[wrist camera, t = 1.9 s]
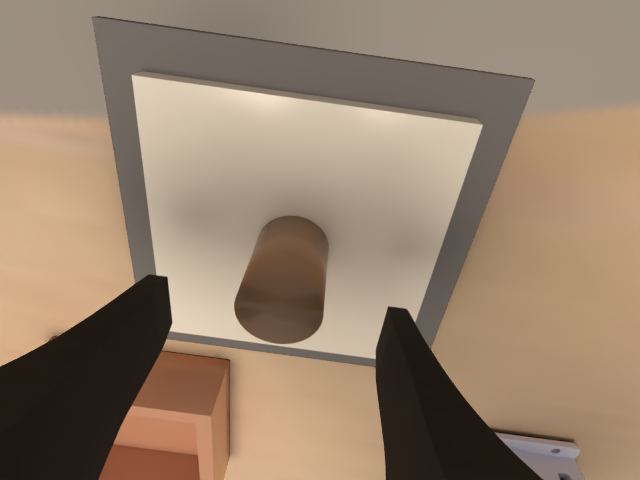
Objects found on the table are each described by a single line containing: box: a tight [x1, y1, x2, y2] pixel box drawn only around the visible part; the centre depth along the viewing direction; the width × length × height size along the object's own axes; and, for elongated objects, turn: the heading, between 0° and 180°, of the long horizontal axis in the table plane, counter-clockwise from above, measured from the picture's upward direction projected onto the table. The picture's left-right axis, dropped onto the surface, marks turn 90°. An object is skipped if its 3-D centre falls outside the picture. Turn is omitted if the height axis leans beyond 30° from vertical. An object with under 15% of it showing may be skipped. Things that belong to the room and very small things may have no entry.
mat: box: [92, 16, 535, 367], centre depth 17 cm, size 15×15×1 cm
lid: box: [132, 71, 483, 359], centre depth 15 cm, size 12×12×5 cm
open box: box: [48, 337, 230, 480], centre depth 24 cm, size 10×10×4 cm
